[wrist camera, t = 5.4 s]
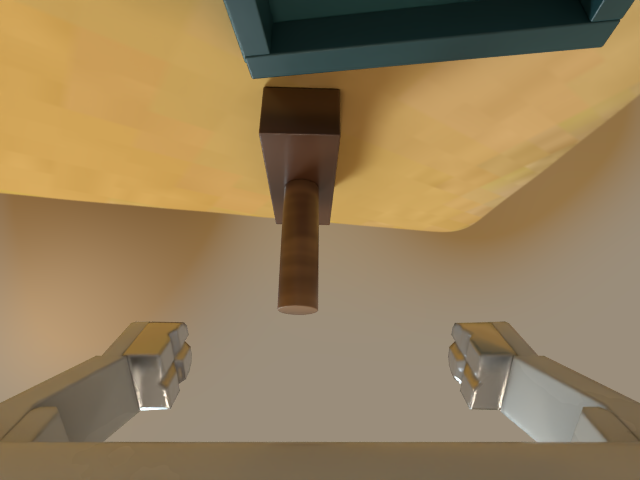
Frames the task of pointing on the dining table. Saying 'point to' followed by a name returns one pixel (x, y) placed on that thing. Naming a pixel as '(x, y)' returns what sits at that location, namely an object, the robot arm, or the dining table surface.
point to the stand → (410, 31)
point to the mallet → (300, 182)
